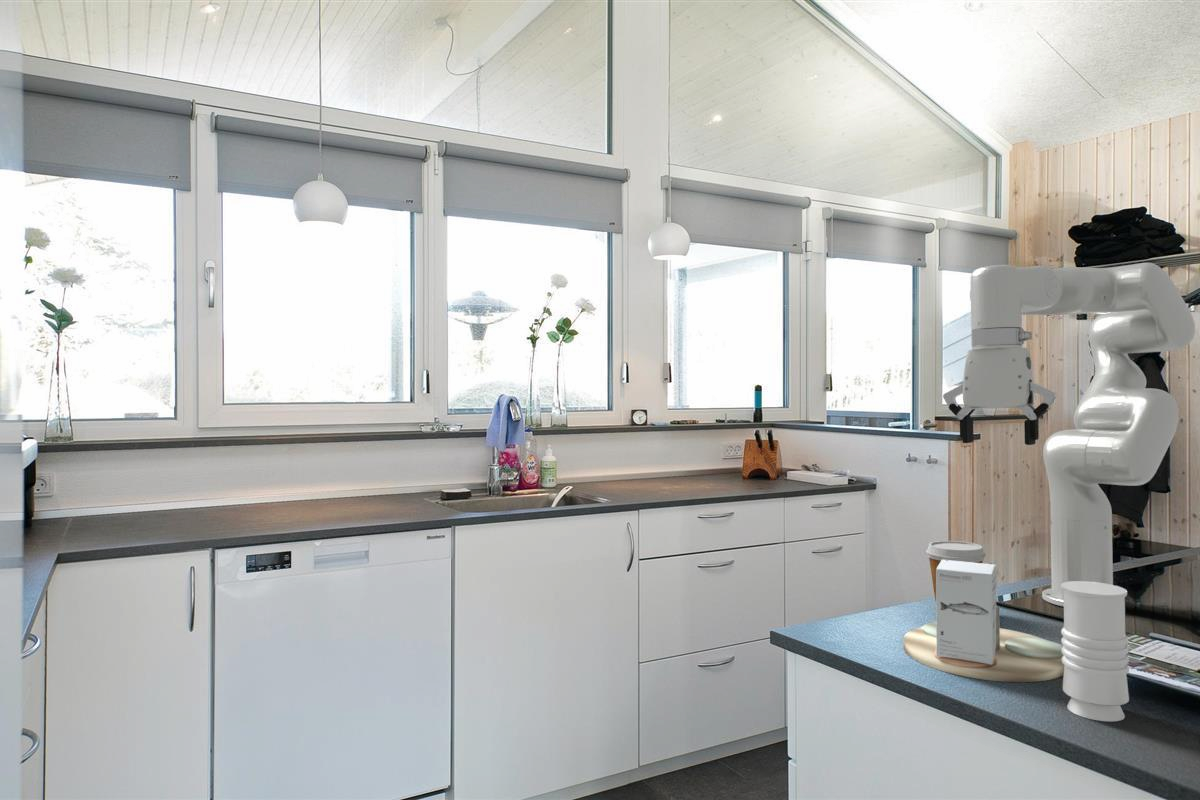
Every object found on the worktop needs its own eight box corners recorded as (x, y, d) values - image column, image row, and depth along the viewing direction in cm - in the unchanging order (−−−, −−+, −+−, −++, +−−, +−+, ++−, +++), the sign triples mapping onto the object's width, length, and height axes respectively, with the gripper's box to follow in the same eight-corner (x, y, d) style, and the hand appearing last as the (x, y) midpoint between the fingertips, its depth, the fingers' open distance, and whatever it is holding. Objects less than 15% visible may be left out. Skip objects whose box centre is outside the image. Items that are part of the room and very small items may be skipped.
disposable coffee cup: (976, 624, 128) (975, 553, 128) (918, 614, 134) (917, 546, 134) (993, 612, 135) (992, 544, 135) (938, 603, 141) (936, 538, 141)
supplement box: (935, 657, 107) (933, 568, 107) (942, 642, 114) (940, 558, 114) (994, 666, 104) (992, 573, 104) (998, 650, 110) (996, 562, 110)
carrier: (938, 623, 129) (937, 576, 129) (1088, 652, 113) (1087, 598, 113) (878, 656, 113) (877, 602, 113) (1043, 695, 98) (1042, 633, 98)
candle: (1136, 710, 93) (1134, 587, 93) (1121, 728, 88) (1119, 598, 88) (1072, 695, 98) (1070, 578, 98) (1054, 711, 93) (1052, 588, 93)
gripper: (1061, 338, 124) (1063, 443, 124) (951, 344, 136) (953, 440, 136) (1047, 336, 118) (1049, 446, 118) (934, 343, 131) (936, 443, 131)
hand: (998, 443), depth 127 cm, fingers open, 9 cm apart
